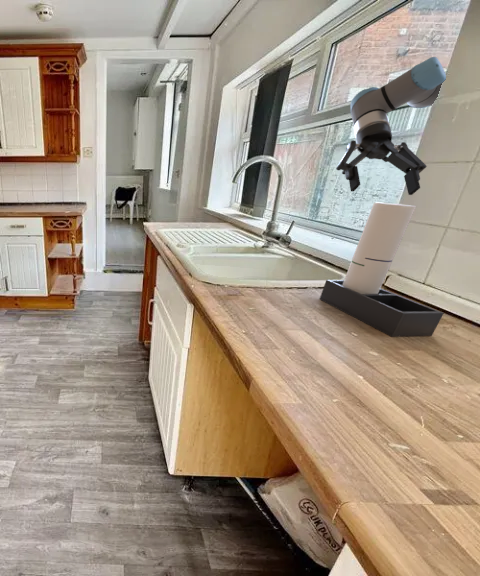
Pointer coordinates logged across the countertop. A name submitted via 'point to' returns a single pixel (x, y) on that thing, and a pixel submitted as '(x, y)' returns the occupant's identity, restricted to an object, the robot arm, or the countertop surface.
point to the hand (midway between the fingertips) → (384, 189)
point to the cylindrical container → (377, 246)
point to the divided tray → (383, 310)
